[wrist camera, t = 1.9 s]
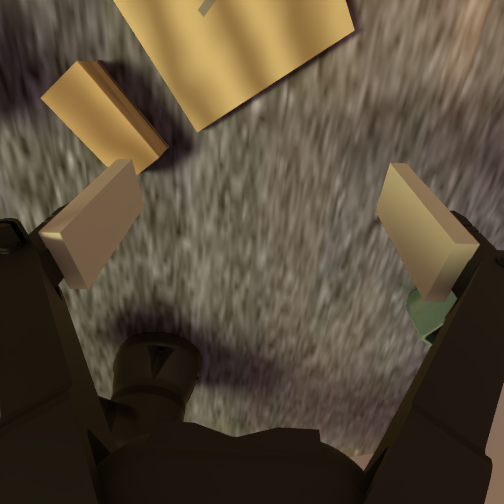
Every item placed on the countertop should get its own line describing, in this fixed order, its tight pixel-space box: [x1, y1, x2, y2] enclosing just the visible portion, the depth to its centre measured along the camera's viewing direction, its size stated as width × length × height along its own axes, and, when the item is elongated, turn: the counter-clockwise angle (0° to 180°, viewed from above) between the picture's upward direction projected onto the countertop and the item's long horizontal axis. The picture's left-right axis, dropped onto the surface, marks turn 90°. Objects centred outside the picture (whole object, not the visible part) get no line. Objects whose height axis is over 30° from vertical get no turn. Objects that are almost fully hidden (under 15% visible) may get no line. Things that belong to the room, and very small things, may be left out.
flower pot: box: [407, 289, 457, 346], centre depth 44 cm, size 9×9×9 cm
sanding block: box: [41, 60, 169, 176], centre depth 30 cm, size 5×10×5 cm, turn 34°
